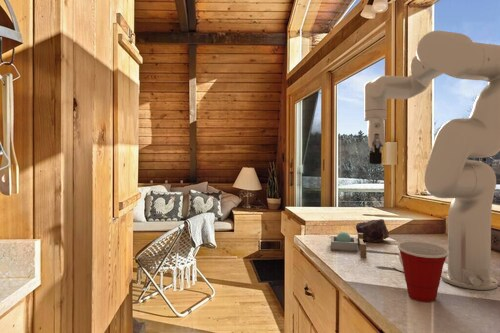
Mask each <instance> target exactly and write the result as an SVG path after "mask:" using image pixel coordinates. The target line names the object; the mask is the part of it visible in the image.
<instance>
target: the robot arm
mask: <svg viewBox="0 0 500 333" xmlns="http://www.w3.org/2000/svg"><path fill="white" fill-rule="evenodd" d="M415 54H416V55H415V56H414V57H412V59H411V61H410V63H409V71H410V73H411V75H408V76H398V75H380V76H378V77H376V78H375V79H374V80H369V81H367V82H366V83H365V84H364V87H363V88H364V92H363V93H364V94H363V95H364V98H363V100H364V105H363V106H364V109H363V110H364V113H363V115H364V118H363V119H364V120H363V121H365V122H367V143H368V148H369V156H368V157H369V159H368V162H369V164H372V165H382V163H383V162H382V160H383V157H382V155H383V154H382V148H384V147H385V146H386V139H385V134H386V133H385V121H386V120H387V119H388V118H387V115H388V113H387V104H388V102H387V100H389V99H391V100H409V99H411V98H413V97H415V96H418V95H420V94H421V93H423V92H424V91H425V90H427V89H428V87H429V86H430V85H431V83H432V80H434V79H436V78H437V77H439V76H442V75H443V74H444V75H447V76H449V77H451V78H454V79H458V80H473V81H483V82H484V81H485V82H487V85H486V86H485V87H484V88H482V90H481V91H480V93H479V94H478V95H477V97H476V99H475V101H474V103H473V108H472V110H471V112H470V115H469V117H468V118H463V117H461V118H454V119H450V120H448V121H447V122H445V123H444V124H443V125H441V127H440V129H438V131H437V134H436V136H435V139H434V142H433V144H432V148H431V151H430V155H429V159H428V161H427V164H426V169H425V172H424V184H425V185H424V186H425V189H426V191H427V192H428V194H429V195H431V196H433V197H434V198H438V199H452V201H451V202H450V205H449V208H448V213H447V214H448V217H447V249H448V250H449V255H448V256H447V270H444V271H443V270H442V274H441V279H442V281H444V282H446V283H447V284H450V285H453V286H455V287H459V288H464V289H470V290H477V291H478V290H479V291H480V290H481V291H486V290H488V291H490V290H493V289H497V288H498V286H499V281H498V280H497V279H496V278H495V277H493V276H491V274H492V273H491V270H492V269H491V266H492V265H491V263H492V262H491V261H492V260H491V259H492V258H491V255H492V253H491V252H492V250H491V249H492V241H491V240H492V209H493V200H494V196H495V193H496V192H495V191H496V186H497V176H496V173H495V170H494V169H493V168H492V166H490V165H489V164H487V163H486V162H483V161H479V160H474V159H475V158H476V159H477V158H480V159H481V158H484V159H485V158H489V157H490V158H491V157H493V156H495V155H497V154H498V153H499V152H500V44H491V43H484V42H483V43H482V42H475V41H473V40H472V39H471V37H469V36H468V35H466V34H464V33H459V32H452V31H445V30H433V31H429V32H427V33H426V34H424V35H423V36H422V37H421V38H420V40H419V41H418V43H417V44H416V50H415ZM473 158H474V159H473ZM471 159H473V160H471Z"/></svg>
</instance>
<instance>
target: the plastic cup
mask: <svg viewBox="0 0 500 333" xmlns="http://www.w3.org/2000/svg"><path fill="white" fill-rule="evenodd" d="M397 248H398V250H399V252H400V254H401V259H402V263H403V269H404V272H403V274H404V280H405V284H406V289H407V294H408V297H409V298H410V299H412V300H414V301H417V302H423V303H432V302H435V301H436V299H437V296H438V291H439V287H440V283H441V279H442V278H441V274H442V272H443V268H444V265H445V261H446V260H447V258H448V255H449V250H448V248H447V247H444V246H442V245H440V244H437V243H433V242H428V241H421V240H406V241H401V242H399V243H398V244H397Z"/></svg>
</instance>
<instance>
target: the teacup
mask: <svg viewBox="0 0 500 333" xmlns="http://www.w3.org/2000/svg"><path fill="white" fill-rule="evenodd" d="M398 259H399V263H396V264H394V265H393V267H394V269H395V270H397V271H399V272H403V273H404V269H403V263H402V259H401V254H400V251H399V252H398Z"/></svg>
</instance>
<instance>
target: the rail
mask: <svg viewBox="0 0 500 333" xmlns="http://www.w3.org/2000/svg"><path fill="white" fill-rule="evenodd" d="M357 243H358V246H357V247H358V248H359V255H360V256H359V257H360V258H361V259H367V243H366V242H365V243H364V241H363V233H357Z"/></svg>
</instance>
